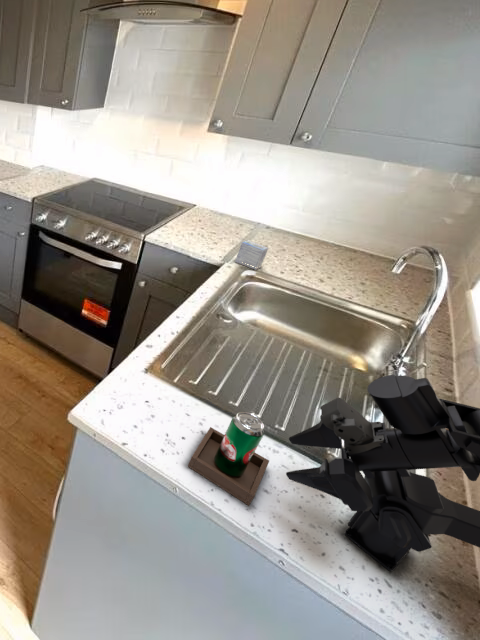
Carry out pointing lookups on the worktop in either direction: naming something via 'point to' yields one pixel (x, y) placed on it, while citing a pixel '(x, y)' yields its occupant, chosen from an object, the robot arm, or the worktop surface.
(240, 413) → the soda can
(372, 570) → the worktop surface
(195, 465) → the tray
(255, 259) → the medicine box
